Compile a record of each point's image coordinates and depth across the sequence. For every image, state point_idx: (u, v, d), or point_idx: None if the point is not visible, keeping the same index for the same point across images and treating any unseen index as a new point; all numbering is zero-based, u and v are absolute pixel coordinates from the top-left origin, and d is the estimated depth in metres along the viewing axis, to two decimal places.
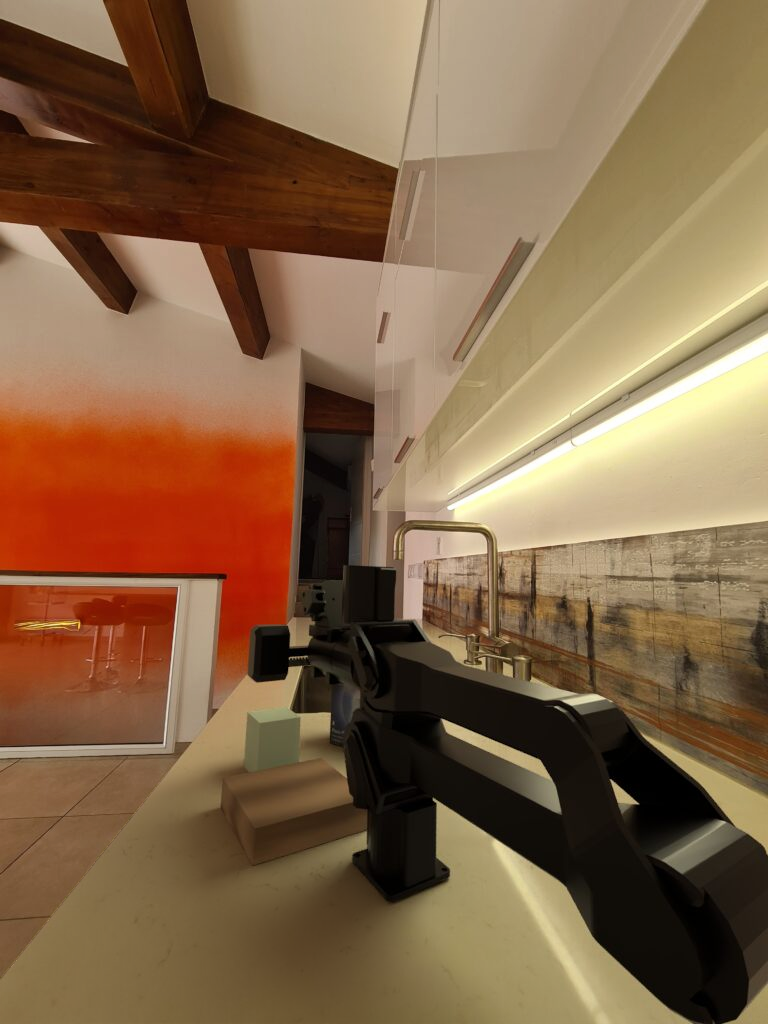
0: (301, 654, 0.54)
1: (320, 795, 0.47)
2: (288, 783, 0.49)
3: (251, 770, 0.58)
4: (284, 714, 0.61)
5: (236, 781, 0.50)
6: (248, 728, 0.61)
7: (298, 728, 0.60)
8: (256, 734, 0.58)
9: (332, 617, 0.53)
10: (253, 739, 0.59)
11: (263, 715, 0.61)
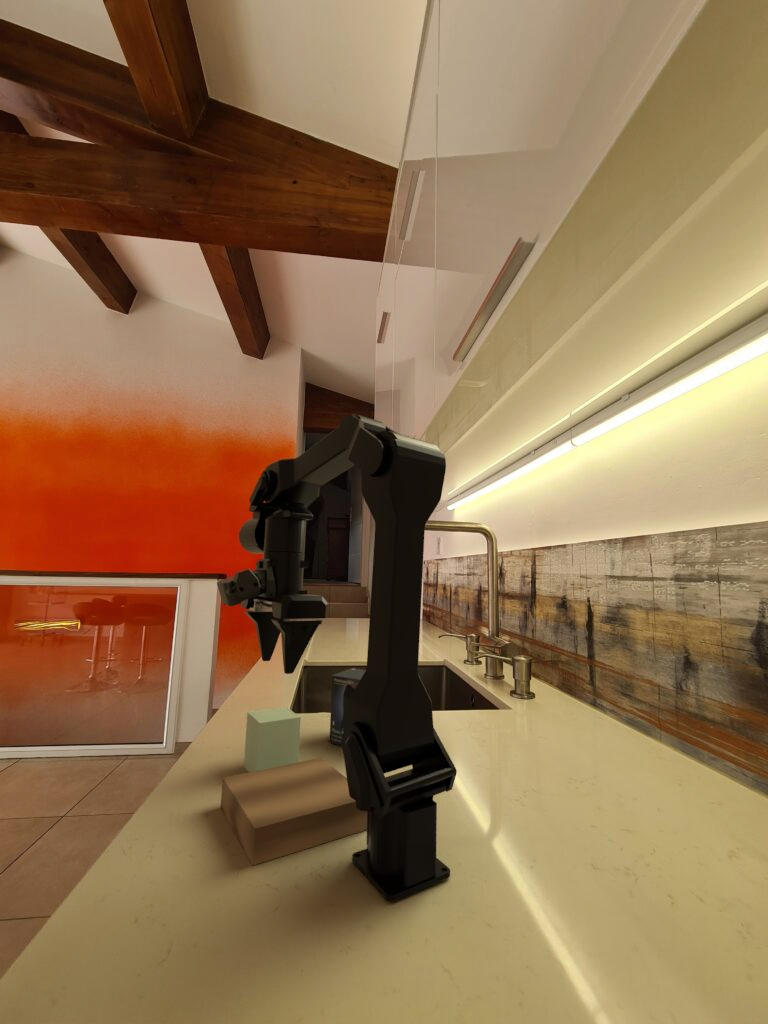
0: None
1: (320, 795, 0.47)
2: (288, 783, 0.49)
3: (251, 770, 0.58)
4: (284, 714, 0.61)
5: (236, 781, 0.50)
6: (248, 729, 0.61)
7: (298, 728, 0.60)
8: (256, 734, 0.58)
9: (256, 572, 0.60)
10: (253, 739, 0.59)
11: (263, 715, 0.61)
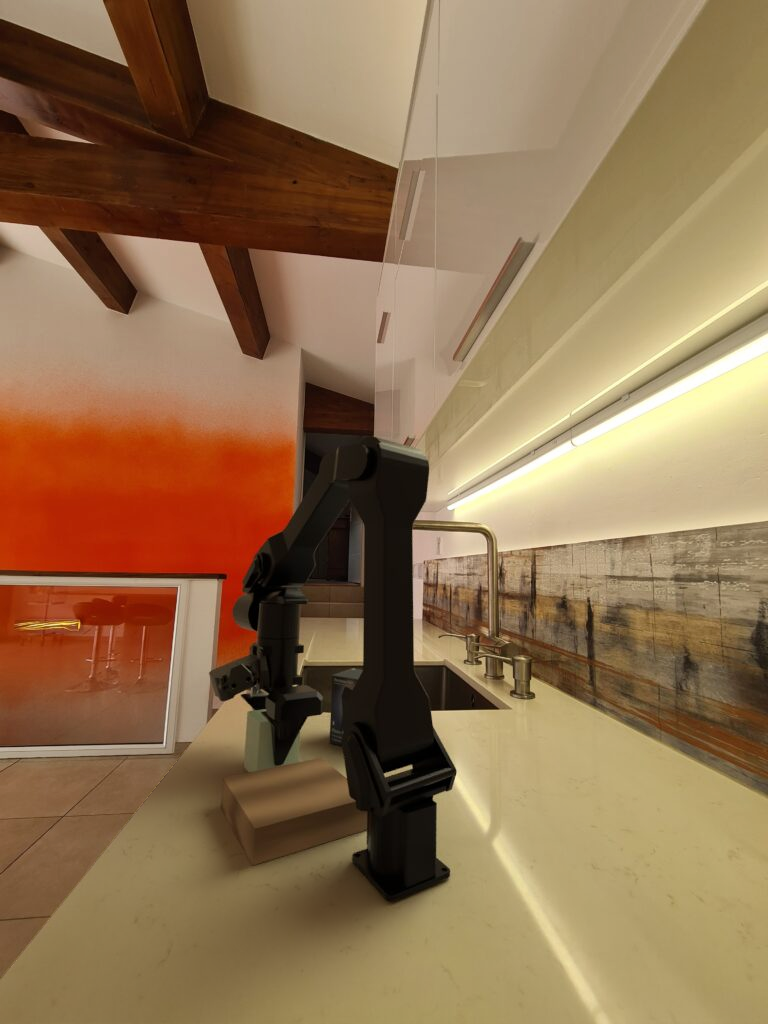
0: None
1: (320, 795, 0.47)
2: (288, 783, 0.49)
3: (251, 770, 0.58)
4: None
5: (236, 781, 0.50)
6: (248, 728, 0.61)
7: None
8: (256, 734, 0.58)
9: (249, 662, 0.59)
10: (253, 738, 0.59)
11: None
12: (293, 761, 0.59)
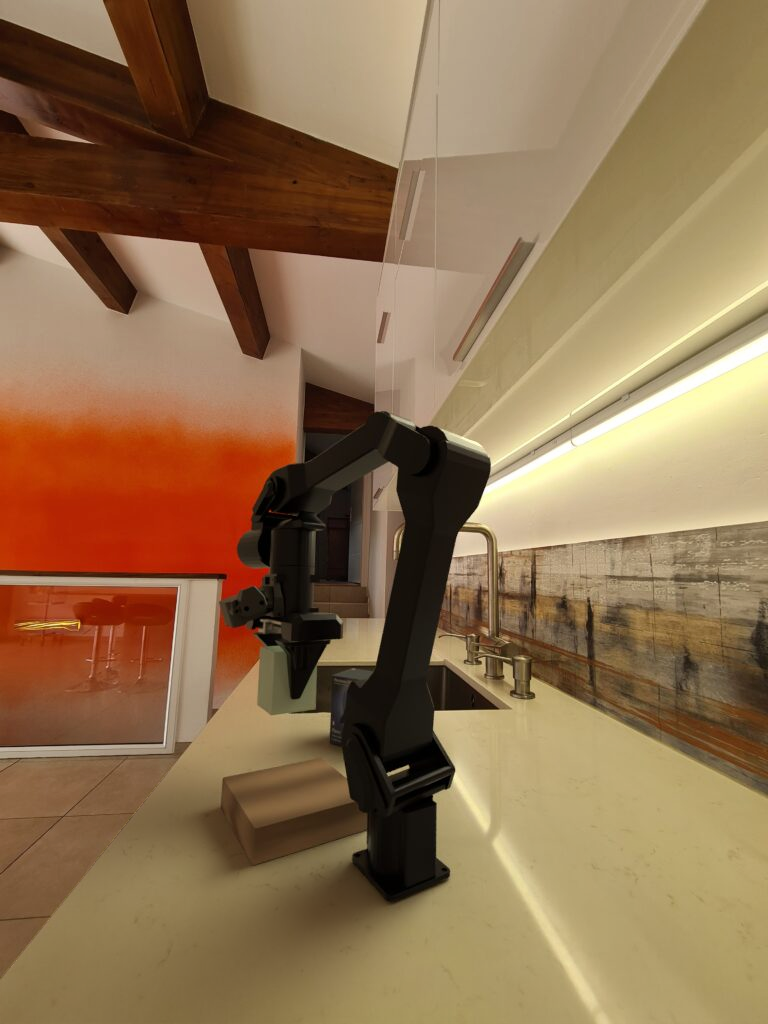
0: None
1: (320, 795, 0.47)
2: (288, 783, 0.49)
3: (265, 705, 0.54)
4: None
5: (236, 781, 0.50)
6: (261, 663, 0.56)
7: None
8: (270, 665, 0.54)
9: (262, 589, 0.55)
10: (267, 671, 0.54)
11: (277, 648, 0.56)
12: (310, 696, 0.55)
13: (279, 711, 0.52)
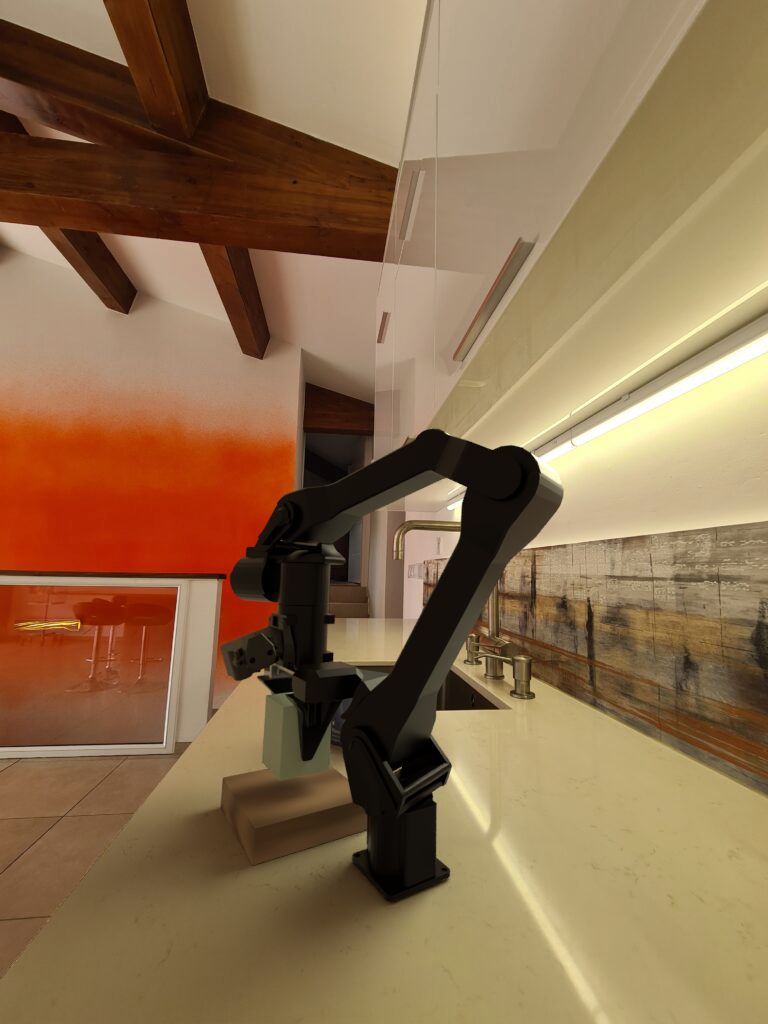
0: None
1: (320, 795, 0.47)
2: (288, 783, 0.49)
3: (272, 766, 0.47)
4: None
5: (236, 781, 0.50)
6: (267, 715, 0.50)
7: None
8: (278, 721, 0.47)
9: (269, 633, 0.48)
10: (275, 727, 0.47)
11: (286, 698, 0.49)
12: (324, 755, 0.48)
13: (288, 775, 0.46)
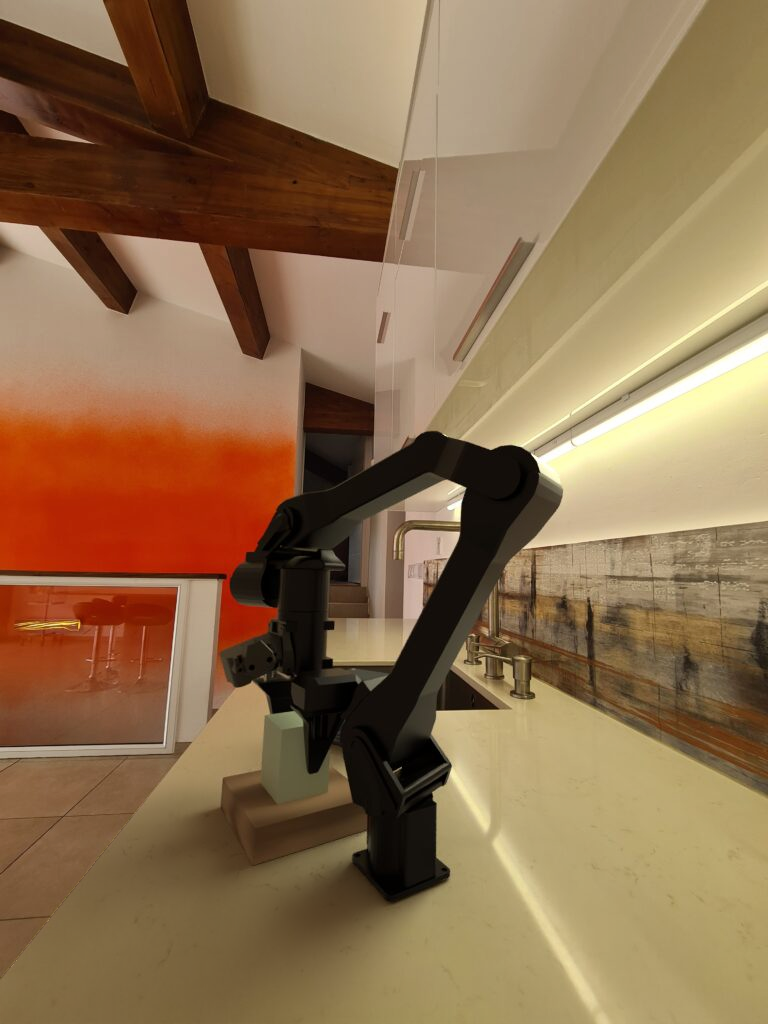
0: None
1: (320, 795, 0.47)
2: None
3: (271, 788, 0.47)
4: None
5: (236, 781, 0.50)
6: (266, 736, 0.49)
7: None
8: (277, 743, 0.46)
9: (269, 639, 0.48)
10: (273, 749, 0.47)
11: (285, 719, 0.49)
12: (322, 777, 0.48)
13: (286, 798, 0.45)
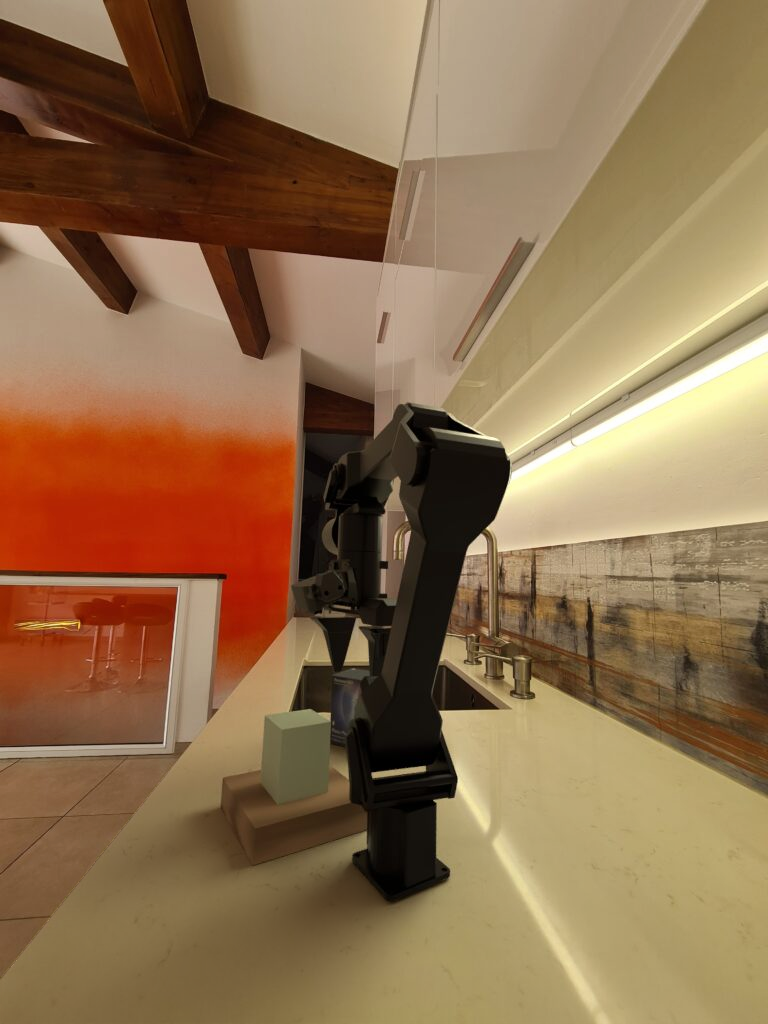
0: None
1: (320, 795, 0.47)
2: None
3: (271, 788, 0.47)
4: (310, 718, 0.50)
5: (236, 781, 0.50)
6: (266, 736, 0.49)
7: (328, 736, 0.48)
8: (277, 743, 0.46)
9: None
10: (273, 749, 0.47)
11: (285, 719, 0.49)
12: (322, 777, 0.48)
13: (286, 798, 0.45)
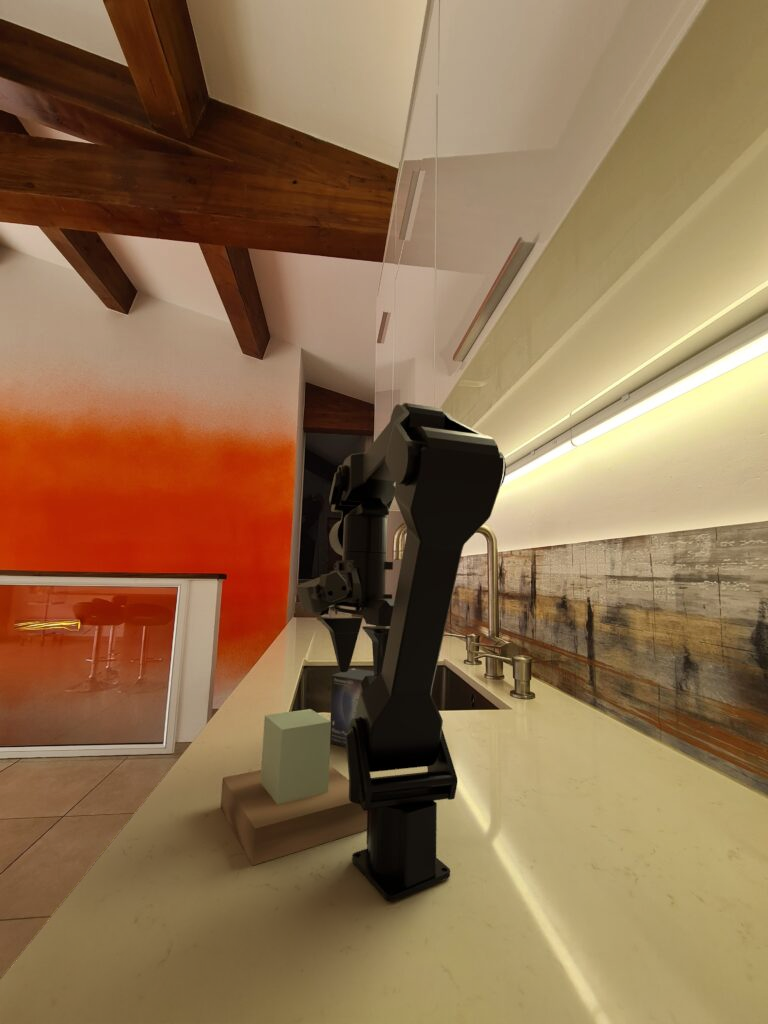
0: None
1: (320, 795, 0.47)
2: None
3: (271, 788, 0.47)
4: (310, 718, 0.50)
5: (236, 781, 0.50)
6: (266, 736, 0.49)
7: (328, 736, 0.48)
8: (277, 743, 0.46)
9: (339, 574, 0.55)
10: (273, 749, 0.47)
11: (285, 719, 0.49)
12: (322, 777, 0.48)
13: (286, 798, 0.45)
